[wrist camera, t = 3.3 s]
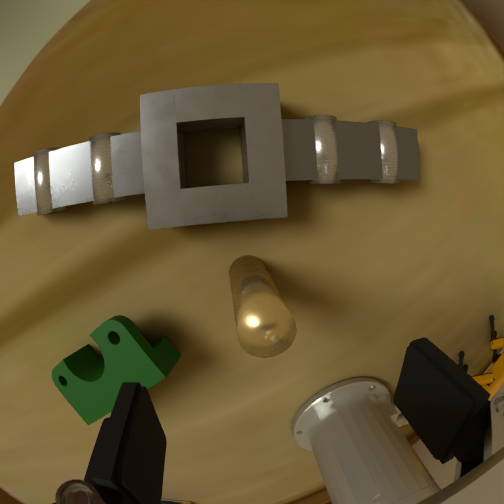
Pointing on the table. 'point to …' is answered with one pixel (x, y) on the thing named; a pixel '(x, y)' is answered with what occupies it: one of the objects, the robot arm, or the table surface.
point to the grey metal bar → (216, 196)
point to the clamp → (112, 367)
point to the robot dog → (500, 370)
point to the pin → (259, 310)
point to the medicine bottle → (174, 502)
